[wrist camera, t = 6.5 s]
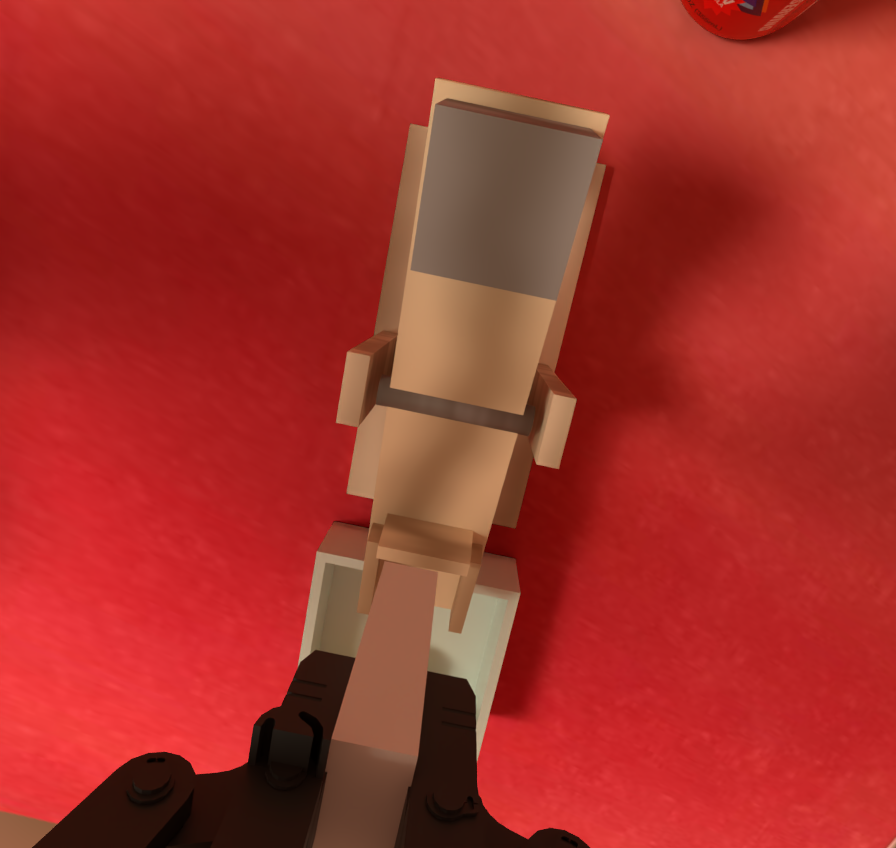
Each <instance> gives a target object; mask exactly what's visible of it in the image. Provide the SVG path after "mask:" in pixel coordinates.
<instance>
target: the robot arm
mask: <svg viewBox="0 0 896 848" xmlns="http://www.w3.org/2000/svg"><path fill="white" fill-rule="evenodd" d="M437 576H438V572H435V571H430V570H425V569H420V568H416V567H411V566H406V565H401V564H396V563H391V562H387V561H385V562H384V565H383V568H382V572H381V575H380V578H379V582H378V585H377V588H376V592H375V595H374V598H373V602H372V605H371V608H370V612H369V615H368V618H367V622H366V625H365V628H364V632H363V635H362V638H361V642H360V645H359V648H358V652H357V655H356V658H354V657H349V656H344V655H339V654H334V653H329V652H325V651H320V650H315V651H313V652H312V653H311V654H310V655H308V656H307V657H306V658H305V659H303V660H302V661H301V662H300V664H299V666H298V669H297V671H296V673H295V676H294V678H293V681H292V682H291V685H290V687H289V689H288V691H287V695H286V696H285V698H284V701H283V703H282V705H281V706H280V707H276V708H273V709H271V710H269V711H268V712H266V713H264V714H262V715H261V716H260V718H259V719H258V720H257V721H256V723H255V724H254V727H253V733H252V740H251V746H250V753H249V759H248V762H247V763H246V764H244V765H243V766H241V767H238V768H235V769H233V770H230V771H225V772H219V773H209V774H197V775H195V772H194V770H193V768H192V766H191V763H190V762H188V761H187V760H185V759H184V758H183V757H181V756H180V755H176V754H172V753H168V752H157V753H147V754H145V755H142V756H139V757H136V758H133V759H131V760H130V761H128V762H127V763H125V764H124V765H122V766H121V767H119V768H118V769H117V770H116V771H115V772H114V773H112V774H111V775H110V776H109V777H108V778H107V779H106V780H105V781H104V782H103V783H102V784H101V785H99V786H98V787H97V788H96V789H95V790H94V791H93V792H92V793H91V794H90V795H89V796H88V797H86V798H85V799H84V800H83V801H82V802H81V803H80V804H79V805H78V806H77V807H76V808H75V809H73V810H72V811H71V812H70V813H69V814H68V815H67V816H66V817H65V818H64V819H63V820H62V821H60V822H59V823H58V824H57V825H56V826H55V827H54V828H53V829H52V830H51V831H50V832H49V833H48V834H46V836H44V837H43V838H42V839H41V840H40V841H39V842H38V843H37V844H36V845H35V846H33V847H32V848H590V847H589V846H588V845H587V844H586V843H584V842H583V841H582V840H581V839H580V838H579V837H577V836H575V835H573V834H571V833H569V832H567V831H565V830H560V829H554V828H548V829H544V830H539V831H537V832H536V833H535V834H534V835H533V836H531V837H530V838H529V840H528V839H526V838H524V837H522V836H520V835H518V834H517V833H515V832H513V831H511V830H509V829H507V828H506V827H504V826H503V825H501V824H500V823H498V822H497V821H496V820H495V819H494V818H493V817H492V816H491V815H490V814H489V813H488V811H487V810H486V809H485V807H484V806H483V803H482V799H481V798H480V796H479V794H478V788H477V742H476V695H475V694H474V692H473V690H472V688H471V686H470V684H469V682H468V680H467V679H464V678H459V677H454V676H450V675H445V674H440V673H435V672H430V671H427V669H428V660H429V650H430V641H431V632H432V623H433V613H434V604H435V595H436V586H437Z"/></svg>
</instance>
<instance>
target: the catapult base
mask: <svg viewBox="0 0 896 848" xmlns="http://www.w3.org/2000/svg"><path fill="white" fill-rule="evenodd" d="M427 132H428V127H425V126H420V125H416V124H411V123H410V128H409V134H408V140H407V145H406V151H405V157H404V163H403V168H402V174H401V180H400V186H399V192H398V197H397V203H396V209H395V215H394V221H393V226H392V232H391V238H390V244H389V250H388V255H387V261H386V267H385V273H384V279H383V284H382V290H381V296H380V302H379V308H378V313H377V319H376V325H375V331H374V336H373V337H371V338H369V339H368V340H366V341H364V342H362V343H361V344H359V345H357V346H356V347H354V348H352V349H350V350H349V351H347V357H346V363H345V369H344V375H343V381H342V387H341V394H340V400H339V406H338V412H337V418H336V423H340V424H344V425H349V426H354V427H358V429H357V435H356V441H355V447H354V452H353V458H352V464H351V470H350V476H349V481H348V487H347V493H346V494H351V495H356V496H361V497H366V498H370V499H374V492H375V486H376V479H377V472H378V465H379V458H380V452H381V445H382V438H383V431H384V424H385V418H386V411H387V407H385V406H380V405H376V398H377V391H378V387H379V382H380V379H381V376H382V374H383V375H388V376H392V370H393V363H394V356H395V350H396V343H397V336H398V329H399V322H400V316H401V309H402V302H403V295H404V288H405V282H406V275H407V268H408V261H409V254H410V248H411V241H412V234H413V227H414V220H415V214H416V207H417V200H418V193H419V186H420V180H421V173H422V166H423V159H424V153H425V146H426V139H427ZM605 168H606V165H604V164H599V163H596V166H595V169H594V173H593V176H592V180H591V183H590V186H589V190H588V193H587V197H586V200H585V204H584V207H583V211H582V214H581V218H580V221H579V225H578V228H577V231H576V235H575V238H574V242H573V245H572V249H571V252H570V256H569V259H568V263H567V266H566V270H565V273H564V276H563V280H562V283H561V287H560V290H559V294H558V297H557V301H556V303H555V307H554V310H553V314H552V317H551V320H550V324H549V327H548V331H547V334H546V338H545V341H544V345H543V348H542V352H541V355H540V359H539V362H538V366H537V369H536V372H535V376H534V379H533V383H532V386H531V390H530V393H529V397H528V400H527V405H532V406H535V416H534V421H533V426H532V429H531V432H530V435H529V436H524V435H519V434H518V435H517V438H516V442H515V445H514V449H513V452H512V456H511V459H510V463H509V466H508V469H507V473H506V476H505V480H504V483H503V487H502V490H501V494H500V497H499V501H498V504H497V508H496V511H495V515H494V518H493V521H492V524H496V525H501V526H506V527H511V528H515V529H516V525H517V521H518V517H519V513H520V509H521V505H522V501H523V497H524V493H525V489H526V485H527V481H528V477H529V473H530V469H531V465H532V461H533V457H534V459H535V462H536V464H537V465H542V466H547V467H551V468H556V469H559V466H560V462H561V458H562V454H563V450H564V447H565V443H566V439H567V435H568V431H569V427H570V424H571V420H572V416H573V412H574V408H575V405H576V401H577V399H576V398H575V396H574V395H573V394H572V393H571V392H570V390H569V389H568V388H567V387H566V386H565V385H564V383H563V382H562V381H561V380H560V379H559V378H558V376H557V375H556V374H555V369H556V365H557V361H558V357H559V352H560V348H561V344H562V340H563V336H564V332H565V328H566V324H567V320H568V316H569V312H570V308H571V304H572V300H573V296H574V292H575V288H576V284H577V280H578V276H579V272H580V268H581V264H582V260H583V256H584V252H585V248H586V244H587V240H588V236H589V232H590V228H591V224H592V220H593V216H594V212H595V208H596V204H597V200H598V196H599V192H600V188H601V184H602V180H603V176H604V172H605Z"/></svg>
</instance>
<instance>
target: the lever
mask: <svg viewBox="0 0 896 848" xmlns="http://www.w3.org/2000/svg"><path fill="white" fill-rule="evenodd" d="M609 116H610V115H608V114H606V113H602V112H598V111H593V110H588V109H584V108H579V107H574V106H569V105H565V104H560V103H555V102H551V101H546V100H541V99H537V98H532V97H527V96H522V95H518V94H513V93H508V92H504V91H499V90H494V89H490V88H485V87H480V86H475V85H471V84H466V83H461V82H457V81H452V80H447V79H443V78H435V85H434V91H433V98H432V105H431V112H430V119H429V125H428V132H427V139H426V146H425V153H424V159H423V166H422V173H421V180H420V186H419V193H418V200H417V207H416V214H415V220H414V227H413V234H412V241H411V248H410V254H409V261H408V268H407V275H406V282H405V288H404V295H403V302H402V309H401V316H400V322H399V329H398V336H397V343H396V350H395V356H394V363H393V370H392V376H388V375H383V374H382V376H381V379H380V382H379V387H378V391H377V398H376V405H380V406H385V407H387V411H386V418H385V424H384V431H383V438H382V445H381V452H380V458H379V465H378V472H377V479H376V486H375V492H374V499H373V506H372V513H371V520H370V526H369V533H368V540H367V546H366V552H365V559H364V566H363V573H362V580H361V586H360V593H359V600H358V607H357V613H362V614H367V615H369V612H370V608H371V605H372V602H373V598H374V595H375V592H376V588H377V585H378V582H379V578H380V575H381V572H382V568H383V565H384V562H385V561H387V562H391V563H396V564H401V565H406V566H411V567H416V568H420V569H425V570H430V571H435V572H438V576H437V586H436V595H435V604H434V606H436V607H441V608H446V609H450V610H451V613H450V621H449V630H448V631H450V632H455V633H459V634H461V633H462V629H463V626H464V622H465V619H466V615H467V612H468V608H469V605H470V601H471V598H472V595H473V591H474V588H475V584H476V581H477V577H478V574H479V570H480V567H481V560H482V556H483V553H484V549H485V546H486V542H487V539H488V535H489V532H490V528H491V525H492V521H493V518H494V515H495V511H496V508H497V504H498V501H499V497H500V494H501V490H502V487H503V483H504V480H505V476H506V473H507V469H508V466H509V463H510V459H511V456H512V452H513V449H514V445H515V442H516V438H517V435H518V434H519V435H524V436H529V435H530V432H531V429H532V426H533V421H534V416H535V406H532V405H527V400H528V397H529V393H530V390H531V386H532V383H533V379H534V376H535V372H536V369H537V366H538V362H539V359H540V355H541V352H542V348H543V345H544V341H545V338H546V334H547V331H548V327H549V324H550V320H551V317H552V314H553V310H554V307H555V303H556V301H557V297H558V294H559V290H560V287H561V283H562V280H563V276H564V273H565V270H566V266H567V263H568V259H569V256H570V252H571V249H572V245H573V242H574V238H575V235H576V231H577V228H578V225H579V221H580V218H581V214H582V211H583V207H584V204H585V200H586V197H587V193H588V190H589V186H590V183H591V180H592V176H593V173H594V169H595V166H596V162H597V159H598V155H599V152H600V148H601V145H602V141H603V137H604V133H605V130H606V126H607V123H608V119H609Z"/></svg>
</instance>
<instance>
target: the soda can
mask: <svg viewBox="0 0 896 848" xmlns="http://www.w3.org/2000/svg"><path fill="white" fill-rule="evenodd" d="M817 1H818V0H681V2H682V4H683V6H684V7H685V9H686V10H687V12H688V13H689V15H690V16H691V17H692V18H693V19H694V20H695V21H696V22H697V23H698V24H699V25H700V26H702V27H703V28H704V29H706V30H707V31H709V32H711V33H713V34H715V35H718V36H721V37H724V38H728V39H735V40H746V39H754V38H758V37H762V36H765V35H768V34H770V33H773V32H775V31H777V30H779V29H780V28H782V27H784V26H786V25H787V24H789V23H790V22H791V21H793V20H794V19H795V18H797V17H798V16H799V15H801V14H802V13H803V12H804V11H806V10H807V9H808V8H809V7H811V6H812V5H813V4H814V3H816V2H817Z"/></svg>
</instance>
